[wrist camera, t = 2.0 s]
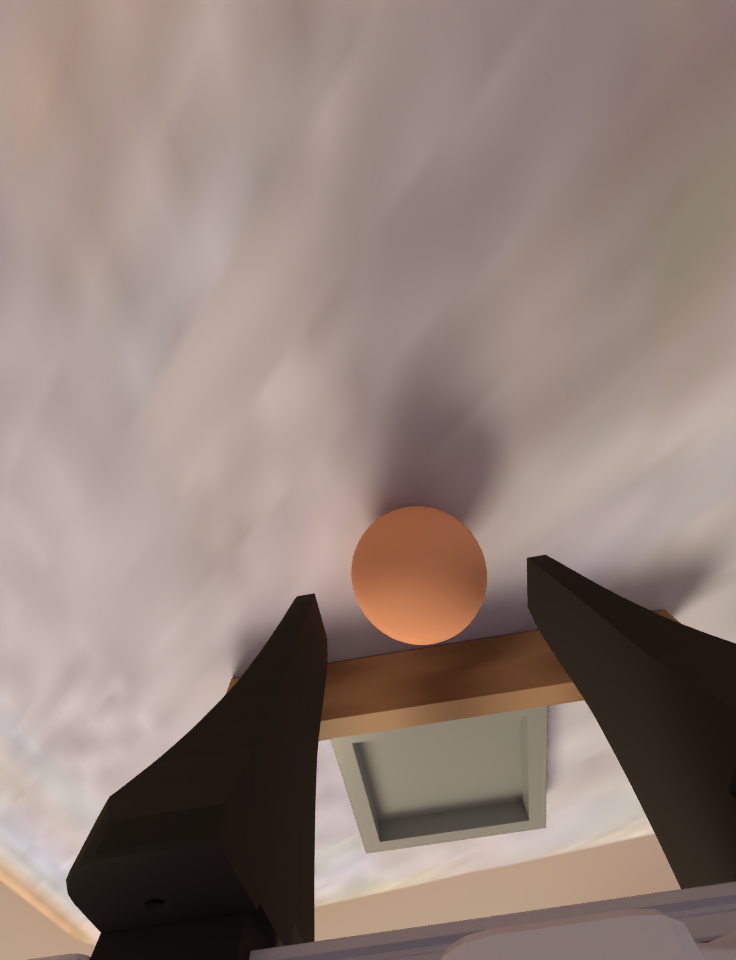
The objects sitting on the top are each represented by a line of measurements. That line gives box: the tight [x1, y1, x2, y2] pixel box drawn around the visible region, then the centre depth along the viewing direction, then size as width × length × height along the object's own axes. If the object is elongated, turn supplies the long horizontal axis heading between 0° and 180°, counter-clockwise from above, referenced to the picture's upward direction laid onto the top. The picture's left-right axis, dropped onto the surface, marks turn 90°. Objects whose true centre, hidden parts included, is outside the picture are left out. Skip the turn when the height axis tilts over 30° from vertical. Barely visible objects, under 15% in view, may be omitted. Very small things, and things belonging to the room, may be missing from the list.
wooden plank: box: [226, 610, 681, 741], centre depth 17 cm, size 22×1×3 cm, turn 100°
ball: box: [351, 506, 487, 645], centre depth 14 cm, size 5×5×5 cm
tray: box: [331, 706, 547, 854], centre depth 21 cm, size 11×11×1 cm
